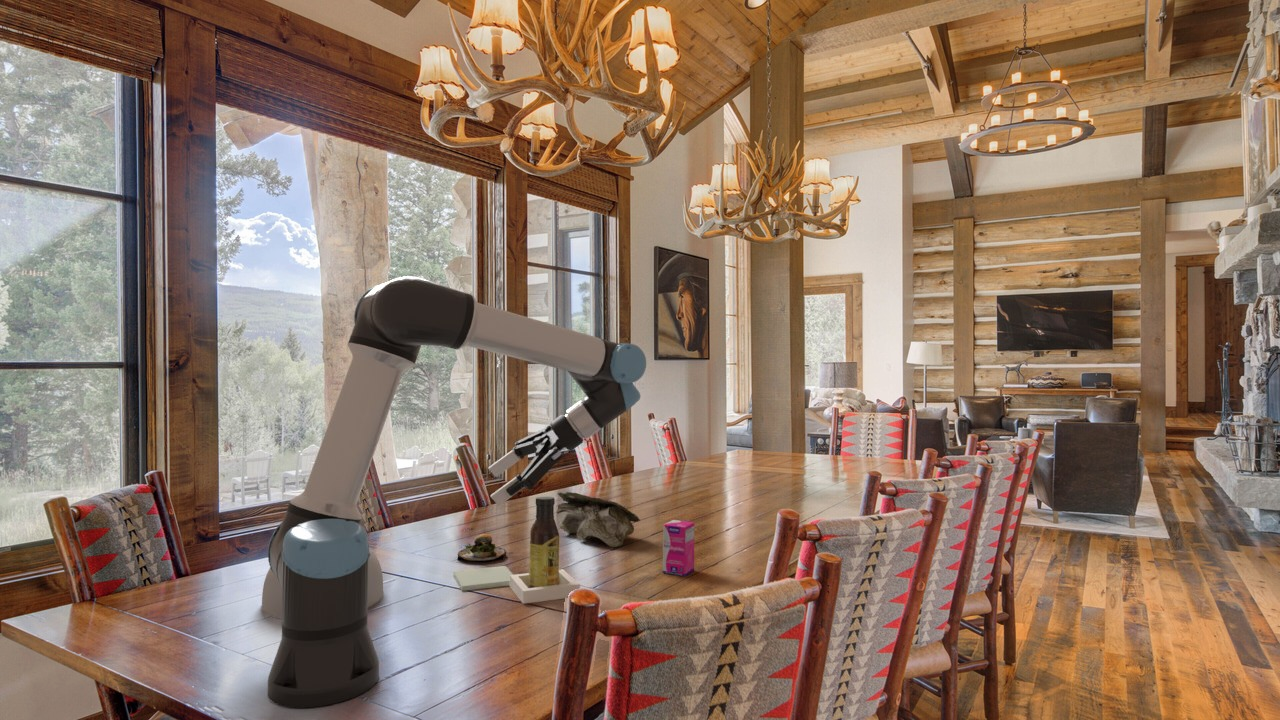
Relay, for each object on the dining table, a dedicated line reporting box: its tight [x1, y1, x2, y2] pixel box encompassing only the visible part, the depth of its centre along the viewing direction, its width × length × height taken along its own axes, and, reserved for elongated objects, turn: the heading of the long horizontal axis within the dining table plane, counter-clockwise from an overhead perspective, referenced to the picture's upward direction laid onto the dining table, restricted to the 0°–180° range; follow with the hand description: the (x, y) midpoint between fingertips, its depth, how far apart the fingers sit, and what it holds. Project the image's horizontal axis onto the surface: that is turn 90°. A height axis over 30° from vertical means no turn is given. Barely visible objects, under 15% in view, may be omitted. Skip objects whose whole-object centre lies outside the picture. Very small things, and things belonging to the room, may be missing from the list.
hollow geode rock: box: [555, 491, 641, 548], centre depth 195 cm, size 28×13×15 cm
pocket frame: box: [509, 568, 581, 605], centre depth 148 cm, size 12×12×2 cm
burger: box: [456, 526, 507, 562], centre depth 175 cm, size 12×12×8 cm
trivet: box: [452, 565, 514, 592], centre depth 156 cm, size 12×12×1 cm
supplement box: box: [662, 519, 695, 577], centre depth 163 cm, size 6×6×12 cm
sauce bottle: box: [528, 496, 560, 588], centre depth 148 cm, size 7×6×20 cm
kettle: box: [260, 546, 385, 620], centre depth 142 cm, size 25×23×22 cm
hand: (493, 486), depth 147 cm, fingers open, 13 cm apart
